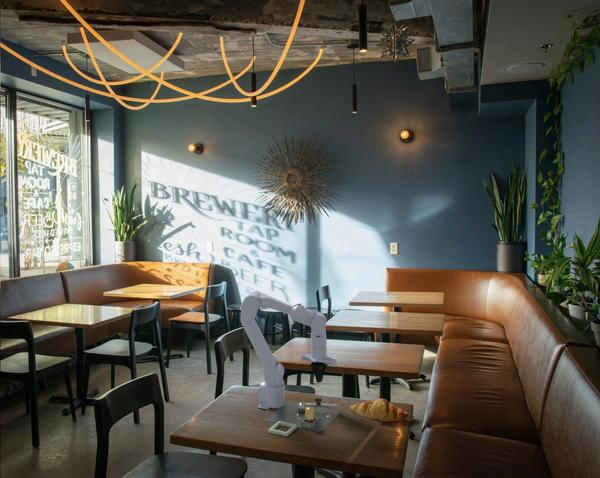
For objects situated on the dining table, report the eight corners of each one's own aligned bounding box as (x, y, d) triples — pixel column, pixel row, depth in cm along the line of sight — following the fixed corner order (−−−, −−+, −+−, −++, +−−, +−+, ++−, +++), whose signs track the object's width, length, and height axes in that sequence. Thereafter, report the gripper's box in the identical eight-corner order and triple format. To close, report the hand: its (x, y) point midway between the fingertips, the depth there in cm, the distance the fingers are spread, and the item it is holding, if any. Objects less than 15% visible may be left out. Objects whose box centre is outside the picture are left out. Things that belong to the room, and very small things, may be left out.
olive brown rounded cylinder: (303, 426, 167) (303, 409, 167) (307, 422, 170) (307, 405, 170) (311, 427, 166) (311, 410, 166) (315, 424, 169) (315, 407, 168)
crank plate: (263, 422, 173) (263, 414, 173) (288, 403, 189) (288, 396, 189) (320, 434, 163) (320, 426, 163) (341, 413, 179) (341, 406, 179)
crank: (297, 412, 178) (297, 399, 178) (298, 409, 181) (298, 396, 181) (336, 413, 177) (335, 400, 176) (336, 410, 179) (336, 397, 179)
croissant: (348, 424, 178) (344, 409, 174) (355, 402, 186) (351, 387, 182) (407, 433, 170) (404, 417, 166) (412, 409, 177) (409, 394, 173)
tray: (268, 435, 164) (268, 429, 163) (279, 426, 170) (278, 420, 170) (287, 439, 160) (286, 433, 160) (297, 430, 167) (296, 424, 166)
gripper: (296, 345, 184) (297, 381, 185) (329, 351, 176) (330, 388, 177) (307, 340, 190) (308, 375, 191) (339, 346, 181) (340, 382, 182)
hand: (319, 381), depth 184 cm, fingers closed
